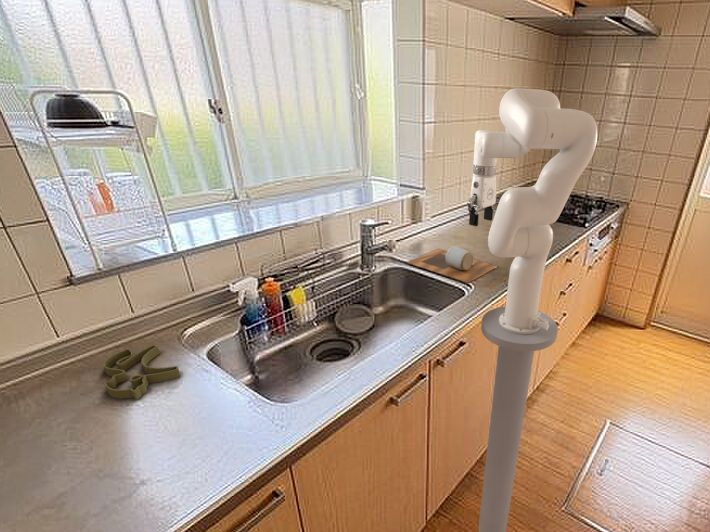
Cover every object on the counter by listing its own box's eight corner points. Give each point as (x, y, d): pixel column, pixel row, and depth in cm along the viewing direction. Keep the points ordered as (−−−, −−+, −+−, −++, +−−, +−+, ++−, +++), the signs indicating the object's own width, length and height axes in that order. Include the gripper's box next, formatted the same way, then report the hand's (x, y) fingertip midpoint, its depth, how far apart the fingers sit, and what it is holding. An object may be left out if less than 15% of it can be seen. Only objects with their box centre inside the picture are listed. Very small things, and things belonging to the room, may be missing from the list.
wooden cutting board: (497, 266, 159) (497, 266, 159) (468, 283, 144) (468, 282, 143) (438, 249, 172) (438, 249, 172) (406, 262, 157) (406, 262, 157)
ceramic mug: (461, 273, 150) (462, 253, 146) (444, 267, 154) (445, 247, 151) (479, 266, 157) (481, 247, 154) (462, 260, 162) (464, 241, 158)
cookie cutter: (185, 379, 90) (183, 372, 89) (118, 407, 81) (114, 399, 80) (155, 347, 100) (153, 340, 99) (91, 369, 91) (88, 361, 90)
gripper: (480, 175, 128) (477, 230, 135) (506, 169, 141) (502, 219, 149) (460, 172, 131) (457, 225, 139) (487, 167, 144) (484, 215, 152)
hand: (480, 222), depth 144 cm, fingers open, 9 cm apart
